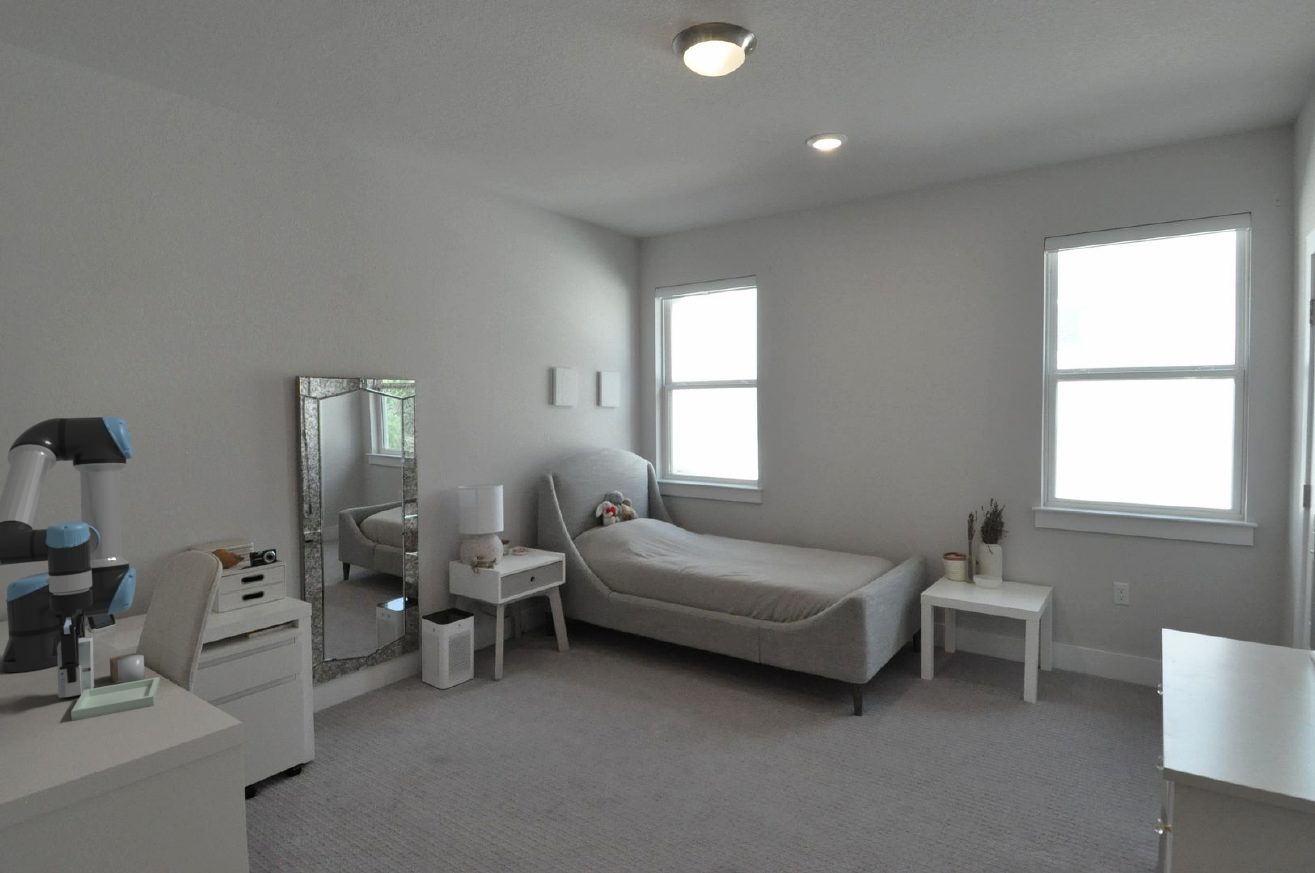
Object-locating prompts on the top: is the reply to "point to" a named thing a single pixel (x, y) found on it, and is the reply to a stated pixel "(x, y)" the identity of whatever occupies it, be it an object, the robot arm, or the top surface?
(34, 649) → the robot arm
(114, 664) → the walnut block
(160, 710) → the top surface
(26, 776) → the top surface
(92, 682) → the skincare box
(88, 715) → the sage dish
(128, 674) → the grey smooth rounded part
